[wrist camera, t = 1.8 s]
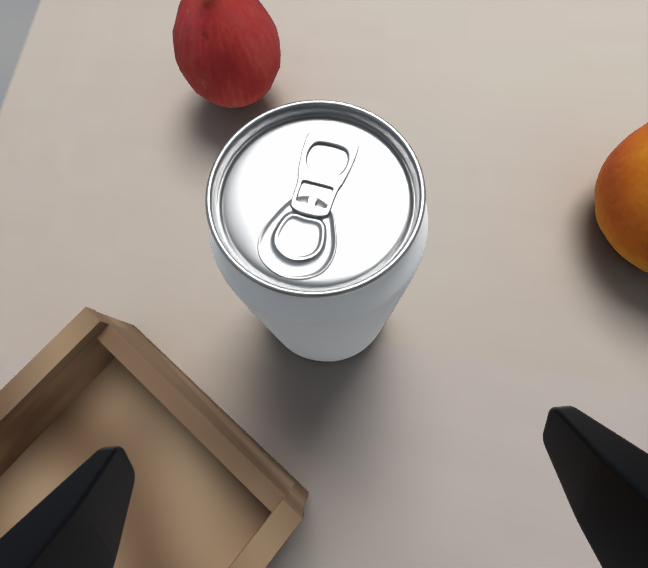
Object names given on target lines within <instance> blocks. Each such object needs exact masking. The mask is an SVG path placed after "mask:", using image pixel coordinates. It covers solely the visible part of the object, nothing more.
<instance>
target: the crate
mask: <svg viewBox="0 0 648 568" xmlns="http://www.w3.org/2000/svg"><path fill="white" fill-rule="evenodd" d="M111 446H121V447H122V448H123V449H124V450H125V452H126V454H127V456H128V458H129V460H130V462H131V464H132V466H133V468H134V472H135V482H134V486H133V491H132V495H131V499H130V503H129V507H128V512H127V516H126V520H125V524H124V528H123V533H122V537H121V541H120V545H119V549H118V553H117V557H116V561H115V564H114V567H113V568H265V567H266V566H267V565H268V563H269V562H270V561H271V560H272V558H273V557H274V556H275V554H276V553H277V552H278V550H279V549H280V548H281V546H282V545H283V544H284V543H285V541H286V540H287V539H288V537H289V536H290V535H291V533H292V532H293V531H294V529H295V528H296V527H297V525H298V524H299V523H300V522H301V520H302V519H303V516H304V513H303V512H302V511H303V508H304V505H305V502H306V499H307V495H308V491H307V490H306V489H305V488H304V487H303V486H302V485H301V484H300V483H299V482H298V481H297V480H295V479H294V478H293V477H292V476H291V475H290V474H289V473H288V472H287V471H286V470H285V469H284V468H283V467H282V466H281V465H280V464H279V463H278V462H277V461H276V460H275V459H273V458H272V457H271V456H270V455H269V454H268V453H267V452H266V451H265V450H264V449H263V448H262V447H261V446H260V445H259V444H258V443H257V442H256V441H255V440H254V439H253V438H251V437H250V436H249V435H248V434H247V433H246V432H245V431H244V430H243V429H242V428H241V427H240V426H239V425H238V424H237V423H236V422H235V421H234V420H233V419H232V418H230V417H229V416H228V415H227V414H226V413H225V412H224V411H223V410H222V409H221V408H220V407H219V406H218V405H217V404H216V403H215V402H214V401H213V400H212V399H211V398H210V397H208V396H207V395H206V394H205V393H204V392H203V391H202V390H201V389H200V388H199V387H198V386H197V385H196V384H195V383H194V382H193V381H192V380H191V379H190V378H189V377H188V376H186V375H185V374H184V373H183V372H182V371H181V370H180V369H179V368H178V367H177V366H176V365H175V364H174V363H173V362H172V361H171V360H170V359H169V358H168V357H167V356H166V355H164V354H163V353H162V352H161V351H160V350H159V349H158V348H157V347H156V346H155V345H154V344H153V343H152V342H151V341H150V340H149V339H148V338H147V337H146V336H145V335H143V334H142V333H141V332H140V331H139V330H138V329H137V328H136V327H135V326H134V325H131V324H128V323H126V322H123V321H120V320H117V319H115V318H112V317H109V316H107V315H104V314H101V313H99V312H96V311H95V310H93V309H90V308H87V307H85V308H84V309H83V310H82V311H81V312H80V313H79V314H78V315H77V316H76V317H75V318H74V319H73V320H72V321H71V322H70V323H69V324H68V325H67V326H66V327H65V328H64V329H63V330H62V331H61V332H60V333H59V334H58V335H57V336H55V337H54V338H53V339H52V340H51V341H50V342H49V343H48V344H47V345H46V346H45V347H44V348H43V349H42V350H41V351H40V352H39V353H38V354H37V355H36V356H35V357H34V358H33V359H32V360H31V361H30V362H29V363H28V364H27V365H26V366H25V367H24V368H23V369H22V370H21V371H20V372H19V373H18V374H17V375H16V376H15V377H14V378H13V379H12V380H11V381H10V382H9V383H8V384H7V385H6V386H5V387H4V388H3V389H2V390H0V538H1V537H2V536H3V535H4V534H5V533H6V532H8V531H9V530H10V529H11V528H12V527H13V526H14V525H15V524H16V523H17V522H19V521H20V520H21V519H22V518H23V517H24V516H25V515H26V514H27V513H29V512H30V511H31V510H32V509H33V508H34V507H35V506H36V505H37V504H38V503H40V502H41V501H42V500H43V499H44V498H45V497H46V496H47V495H48V494H50V493H51V492H52V491H53V490H54V489H55V488H56V487H57V486H58V485H59V484H61V483H62V482H63V481H64V480H65V479H66V478H67V477H68V476H69V475H71V474H72V473H73V472H74V471H75V470H76V469H77V468H78V467H79V466H80V465H82V464H83V463H84V462H85V461H86V460H87V459H88V458H89V457H90V456H92V455H93V454H94V453H95V452H96V451H97V450H99V449H100V448H103V447H111Z"/></svg>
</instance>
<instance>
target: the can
mask: <svg viewBox="0 0 648 568" xmlns="http://www.w3.org/2000/svg"><path fill="white" fill-rule="evenodd" d="M205 203H206V214H207V220H208V224H209V235H210V243H211V248H212V252H213V255H214V258H215V260H216V263H217V265H218V267H219V269H220V271H221V273H222V275H223V277H224V279H225V280H226V282H227V283H228V285H229V286H230V287H231V288H232V290H233V291H234V292H235V293H236V295H237V296H238V297H239V298H240V299H241V300H242V301H243V303H244V304H245V305H246V306H247V307H248V308H249V309H250V310H251V311H252V312H253V313H254V314H255V315H256V317H257V318H258V319H259V320H260V321H261V322H262V323H263V324H264V325H265V326H266V327H267V328H268V329H269V330H270V331H271V332H272V333H273V334H274V335H275V336H276V337H277V338H278V339H279V340H280V341H281V342H282V343H283V344H284V345H285V346H286V347H287V348H288V349H290V350H291V351H292V352H294V353H295V354H297V355H299V356H301V357H304V358H307V359H311V360H317V361H339V360H343V359H346V358H349V357H352V356H354V355H356V354H358V353H359V352H361V351H362V350H364V349H365V348H366V347H367V346H368V345H370V344H371V342H372V341H373V340H374V339H375V338H376V337H377V335H378V334H379V332H380V331H381V329H382V328H383V326H384V325H385V323H386V321H387V320H388V318H389V316H390V315H391V313H392V312H393V310H394V308H395V307H396V305H397V303H398V302H399V300H400V298H401V297H402V295H403V293H404V291H405V290H406V288H407V286H408V285H409V283H410V281H411V279H412V277H413V276H414V274H415V272H416V270H417V267H418V265H419V263H420V261H421V258H422V255H423V252H424V248H425V244H426V239H427V232H428V214H427V207H426V189H425V181H424V176H423V172H422V169H421V166H420V164H419V161H418V159H417V157H416V155H415V153H414V151H413V150H412V148H411V146H410V145H409V143H408V142H407V141H406V140H405V138H404V137H403V136H402V135H401V134H400V133H399V132H398V131H397V130H396V129H395V128H394V127H393V126H392V125H390V124H389V123H388V122H387V121H385V120H384V119H382V118H381V117H379V116H377V115H376V114H374V113H372V112H370V111H368V110H365V109H363V108H361V107H358V106H355V105H351V104H348V103H343V102H338V101H331V100H306V101H299V102H293V103H289V104H285V105H282V106H279V107H276V108H273V109H271V110H268V111H266V112H264V113H262V114H260V115H259V116H257V117H255V118H254V119H252V120H250V121H249V122H248V123H246V124H245V125H244V126H242V127H241V128H240V129H239V130H238V131H237V132H236V133H235V134H234V135H233V136H232V137H231V138H230V139H229V140H228V141H227V143H226V144H225V145H224V147H223V148H222V149H221V151H220V153H219V154H218V156H217V158H216V160H215V162H214V164H213V166H212V169H211V172H210V175H209V178H208V182H207V188H206V200H205Z"/></svg>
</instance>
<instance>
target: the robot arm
mask: <svg viewBox="0 0 648 568" xmlns="http://www.w3.org/2000/svg"><path fill="white" fill-rule="evenodd" d="M543 441H544V445H545V447H546V450H547V452H548V454H549V457H550V459H551V462H552V464H553V466H554V469H555V471H556V473H557V476H558V478H559V480H560V483H561V485H562V487H563V490H564V492H565V494H566V497H567V499H568V501H569V504H570V506H571V508H572V510H573V513H574V515H575V517H576V519H577V521H578V523H579V525H580V527H581V529H582V531H583V533H584V535H585V536H586V538H587V540H588V542H589V544H590V546H591V547H592V549H593V551H594V553H595V555H596V557H597V558H598V560H599V562H600V564H601V566H602V568H648V453H646V452H645V451H643V450H641V449H640V448H638V447H637V446H635V445H633V444H632V443H630V442H629V441H627V440H626V439H624V438H622V437H621V436H619V435H618V434H616V433H615V432H613V431H611V430H610V429H608V428H607V427H605V426H604V425H602V424H600V423H599V422H597V421H596V420H594V419H592V418H591V417H589V416H588V415H586V414H585V413H583V412H581V411H580V410H578V409H577V408H575V407H572V406H561V407H553V408H551V409H550V410H549V413H548V417H547V421H546V424H545V428H544V432H543ZM134 482H135V472H134V468H133V466H132V464H131V462H130V460H129V458H128V456H127V454H126V452H125V450H124V449H123V448H122V447H121V446H111V447H103V448H100V449H99V450H97V451H96V452H95V453H94V454H93V455H92V456H90V457H89V458H88V459H87V460H86V461H85V462H84V463H83V464H82V465H80V466H79V467H78V468H77V469H76V470H75V471H74V472H73V473H72V474H71V475H69V476H68V477H67V478H66V479H65V480H64V481H63V482H62V483H61V484H59V485H58V486H57V487H56V488H55V489H54V490H53V491H52V492H51V493H50V494H48V495H47V496H46V497H45V498H44V499H43V500H42V501H41V502H40V503H38V504H37V505H36V506H35V507H34V508H33V509H32V510H31V511H30V512H29V513H27V514H26V515H25V516H24V517H23V518H22V519H21V520H20V521H19V522H17V523H16V524H15V525H14V526H13V527H12V528H11V529H10V530H9V531H8V532H6V533H5V534H4V535H3V536H2V537H1V538H0V568H113V567H114V564H115V561H116V557H117V553H118V549H119V545H120V541H121V537H122V533H123V528H124V524H125V520H126V516H127V512H128V507H129V503H130V499H131V495H132V491H133V486H134Z"/></svg>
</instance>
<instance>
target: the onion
mask: <svg viewBox="0 0 648 568" xmlns="http://www.w3.org/2000/svg"><path fill="white" fill-rule="evenodd" d="M173 44H174V52H175V58H176V62H177V64H178V66H179V69H180V71H181V73H182V74H183V76H184V77H185V78H186V80H187V81H188V83H189V84H190V86H191V87H192V88H193V89H194V91H195V92H196V93H197V94H199V95H200V96H202V97H204V98H205V99H207V100H208V101H210V102H212V103H213V104H215V105H217V106H222V107H227V108H237V107H245V106H248V105H250V104H252V103H255V102H257V101H258V100H260V99H261V98H262V97H263V96H264V95H265V94H266V93H267V92H268V91H269V89H270V88H271V86H272V84H273V81H274V79H275V77H276V75H277V73H278V70H279V68H280V56H281V54H280V41H279V36H278V32H277V29H276V26H275V24H274V22H273V20H272V19H271V17H270V15H269V14H268V12H267V11H266V10H265V8H264V7H263V5H262V4H261V3H260V1H259V0H181V2H180V4H179V7H178V12H177V16H176V20H175V25H174V28H173Z"/></svg>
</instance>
